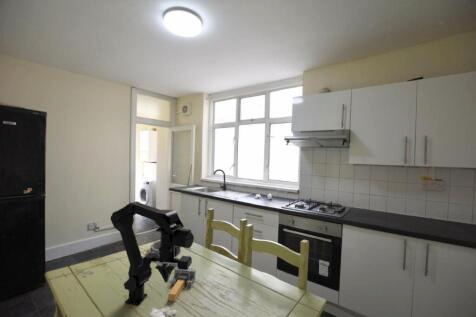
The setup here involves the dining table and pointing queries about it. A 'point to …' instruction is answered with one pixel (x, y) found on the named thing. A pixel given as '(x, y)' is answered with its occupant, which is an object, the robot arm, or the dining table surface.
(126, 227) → the robot arm
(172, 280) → the frame
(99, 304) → the dining table surface
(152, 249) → the grey round bowl
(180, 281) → the plug
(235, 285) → the dining table surface
